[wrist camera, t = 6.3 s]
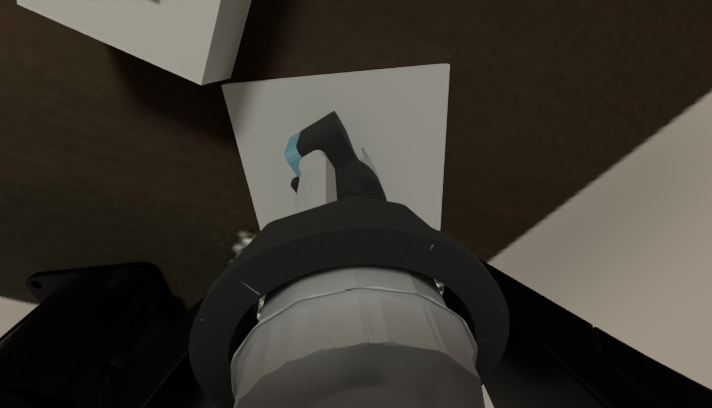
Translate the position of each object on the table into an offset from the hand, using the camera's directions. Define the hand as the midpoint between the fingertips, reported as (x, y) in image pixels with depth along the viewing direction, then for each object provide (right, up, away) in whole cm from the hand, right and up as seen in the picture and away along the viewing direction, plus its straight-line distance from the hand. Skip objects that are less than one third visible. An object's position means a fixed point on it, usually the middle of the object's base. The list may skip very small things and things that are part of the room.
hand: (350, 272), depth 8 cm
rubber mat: (0, +3, +6) cm, 7 cm away
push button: (0, +3, +5) cm, 6 cm away
